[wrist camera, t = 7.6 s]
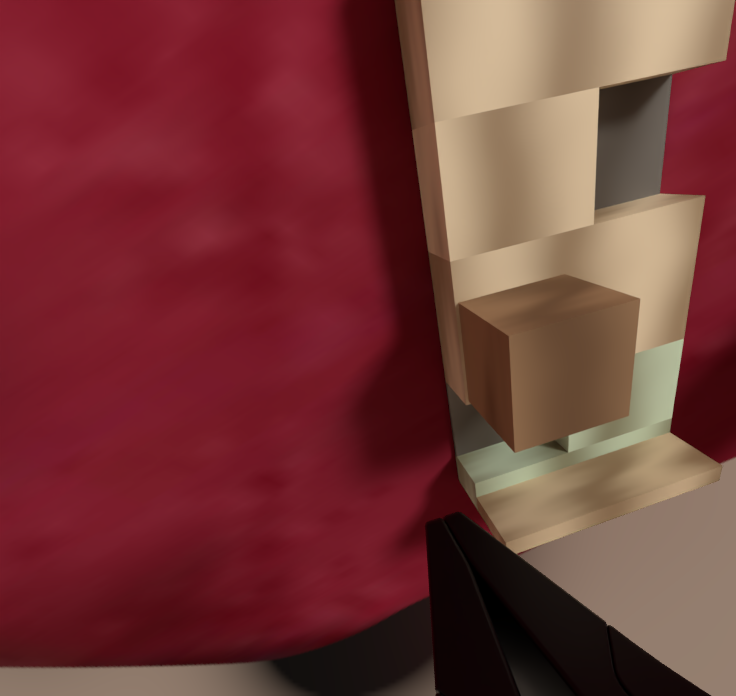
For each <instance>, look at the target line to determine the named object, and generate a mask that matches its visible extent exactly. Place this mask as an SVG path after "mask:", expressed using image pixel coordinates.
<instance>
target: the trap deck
mask: <svg viewBox="0 0 736 696" xmlns="http://www.w3.org/2000/svg"><path fill="white" fill-rule="evenodd" d="M734 3H735V0H395V7H396V15H397V22H398V29H399V37H400V44H401V52H402V59H403V67H404V74H405V82H406V89H407V97H408V104H409V112H410V119H411V127H412V134H413V142H414V149H415V156H416V164H417V171H418V179H419V186H420V194H421V201H422V209H423V216H424V224H425V231H426V239H427V246H428V254H429V261H430V268H431V276H432V283H433V291H434V298H435V306H436V313H437V321H438V328H439V336H440V343H441V351H442V358H443V366H444V373H445V380H446V388H447V395H448V403H449V410H450V418H451V425H452V433H453V440H454V448H455V455H456V463H457V470H458V478H459V481H460V483H461V484H462V486H463V488H464V489H465V491H466V492H467V494H468V496H469V497H470V499H471V500H472V502H473V504H474V505H475V507H476V508H477V510H478V512H479V513H480V515H481V516H482V518H483V520H484V521H485V523H486V524H487V526H488V528H489V529H490V531H491V532H492V534H493V536H494V537H495V538H496V539H497V540H498V541H500V542H501V543H502V544H504V545H505V546H506V547H508V548H509V549H510V550H512V551H513V552H514V553H516V554H517V553H520V552H522V551H525V550H528V549H531V548H534V547H536V546H539V545H542V544H545V543H547V542H550V541H553V540H556V539H558V538H561V537H564V536H566V535H569V534H572V533H575V532H578V531H581V530H583V529H586V528H589V527H592V526H594V525H597V524H600V523H603V522H605V521H608V520H611V519H614V518H617V517H619V516H622V515H625V514H628V513H630V512H633V511H636V510H639V509H642V508H644V507H647V506H650V505H652V504H656V503H658V502H661V501H664V500H666V499H669V498H672V497H675V496H678V495H681V494H683V493H686V492H689V491H692V490H694V489H697V488H700V487H703V486H705V485H708V484H711V483H714V482H716V481H719V479H720V474H721V470H722V465H720V464H719V463H717V462H716V461H714V460H712V459H711V458H709V457H708V456H706V455H705V454H703V453H701V452H700V451H698V450H697V449H695V448H694V447H692V446H690V445H689V444H687V443H686V442H684V441H683V440H681V439H679V438H678V437H676V436H675V435H673V434H672V433H670V427H671V420H672V414H673V407H674V400H675V394H676V387H677V380H678V374H679V367H680V361H681V354H682V347H683V341H684V334H685V327H686V321H687V314H688V307H689V301H690V294H691V288H692V281H693V274H694V268H695V261H696V254H697V248H698V241H699V235H700V228H701V221H702V215H703V208H704V201H705V196H704V195H678V194H660V186H661V176H662V167H663V157H664V148H665V138H666V129H667V119H668V110H669V100H670V91H671V81H672V74H674V73H678V72H682V71H686V70H690V69H693V68H697V67H701V66H705V65H709V64H713V63H717V62H720V61H724V60H726V56H727V49H728V42H729V36H730V29H731V22H732V16H733V9H734ZM563 274H566V275H569V276H572V277H576V278H579V279H582V280H585V281H588V282H591V283H594V284H597V285H600V286H603V287H606V288H609V289H613V290H616V291H619V292H622V293H625V294H628V295H631V296H634V297H637V298H640V309H639V319H638V329H637V339H636V349H635V359H634V369H633V380H632V390H631V400H630V410H629V416H627V417H624V418H621V419H618V420H615V421H612V422H609V423H606V424H603V425H600V426H596V427H593V428H590V429H587V430H584V431H581V432H578V433H575V434H572V435H569V436H566V437H563V438H560V439H556V440H553V441H550V442H547V443H544V444H541V445H538V446H535V447H532V448H529V449H526V450H523V451H520V452H516V453H514V452H513V451H512V449H511V448H510V447H509V446H508V445H507V444H506V443H505V442H504V440H503V439H502V438H501V437H500V436H499V435H498V434H497V433H496V431H495V430H494V429H493V428H492V427H491V426H490V425H489V424H488V422H487V421H486V420H485V419H484V418H483V417H482V416H481V415H480V413H479V412H478V411H477V410H476V409H475V408H474V407H473V406H472V404H471V403H470V402H469V400H468V390H467V381H466V371H465V362H464V352H463V343H462V333H461V324H460V314H459V305H458V303H459V302H463V301H467V300H470V299H474V298H478V297H481V296H485V295H489V294H492V293H496V292H500V291H504V290H507V289H511V288H515V287H518V286H522V285H526V284H529V283H533V282H537V281H541V280H544V279H548V278H552V277H555V276H559V275H563Z"/></svg>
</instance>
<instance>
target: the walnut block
mask: <svg viewBox="0 0 736 696" xmlns="http://www.w3.org/2000/svg"><path fill="white" fill-rule="evenodd" d="M458 305H459V314H460V324H461V333H462V343H463V352H464V362H465V371H466V381H467V390H468V400H469V402H470V403H471V404H472V406H473V407H474V408H475V409H476V410H477V411H478V412H479V413H480V415H481V416H482V417H483V418H484V419H485V420H486V421H487V422H488V424H489V425H490V426H491V427H492V428H493V429H494V430H495V431H496V433H497V434H498V435H499V436H500V437H501V438H502V439H503V440H504V442H505V443H506V444H507V445H508V446H509V447H510V448H511V449H512V451H513V452H514V453H516V452H520V451H523V450H526V449H529V448H532V447H535V446H538V445H541V444H544V443H547V442H550V441H553V440H556V439H560V438H563V437H566V436H569V435H572V434H575V433H578V432H581V431H584V430H587V429H590V428H593V427H596V426H600V425H603V424H606V423H609V422H612V421H615V420H618V419H621V418H624V417H627V416H629V410H630V400H631V390H632V380H633V369H634V359H635V349H636V339H637V329H638V319H639V309H640V298H637V297H634V296H631V295H628V294H625V293H622V292H619V291H616V290H613V289H609V288H606V287H603V286H600V285H597V284H594V283H591V282H588V281H585V280H582V279H579V278H576V277H572V276H569V275H566V274H563V275H559V276H555V277H552V278H548V279H544V280H541V281H537V282H533V283H529V284H526V285H522V286H518V287H515V288H511V289H507V290H504V291H500V292H496V293H492V294H489V295H485V296H481V297H478V298H474V299H470V300H467V301H463V302H459V303H458Z"/></svg>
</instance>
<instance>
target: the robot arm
mask: <svg viewBox="0 0 736 696" xmlns="http://www.w3.org/2000/svg"><path fill="white" fill-rule="evenodd" d="M425 529H426V545H427V562H428V578H429V594H430V610H431V627H432V641H433V642H432V643H433V659H434V674H435V690H436V696H711V695H709V694H708V693H706V692H705V691H703V690H701V689H700V688H698V687H697V686H695V685H694V684H692V683H691V682H689V681H688V680H686V679H685V678H683V677H682V676H680V675H679V674H677V673H676V672H674V671H673V670H671V669H670V668H668V667H667V666H665V665H664V664H662V663H661V662H659V661H658V660H657V659H655V658H654V657H653V656H651V655H650V654H649V653H647V652H646V651H644V650H643V649H642V648H640V647H639V646H637V645H636V644H635V643H633V642H632V641H630V640H629V639H628V638H627V637H625V636H624V635H623V634H621V633H620V632H618V631H617V630H616V629H615V628H614V627H612V626H611V625H608V626H607V624H606V622H605V621H604V620H603V619H601V618H600V617H599V616H597V615H596V614H595V613H593V612H592V611H591V610H590V609H588V608H587V607H586V606H584V605H583V604H582V603H580V602H579V601H578V600H576V599H575V598H573V597H572V596H571V595H570V594H568V593H567V592H566V591H564V590H563V589H562V588H560V587H559V586H558V585H556V584H555V583H554V582H553V581H551V580H550V579H549V578H547V577H546V576H545V575H543V574H542V573H541V572H539V571H538V570H537V569H535V568H534V567H533V566H531V565H530V564H529V563H527V562H526V561H525V560H524V559H522V558H521V557H520V556H518V555H517V554H516V553H514V552H513V551H512V550H510V549H509V548H508V547H506V546H505V545H504V544H502V543H501V542H500V541H498V540H497V539H496V538H494V537H493V536H492V535H490V534H489V533H488V532H487V531H485V530H484V529H483V528H481V527H480V526H479V525H477V524H476V523H475V522H473V521H472V520H471V519H469V518H468V517H467V516H465V515H464V514H463V513H461V512H455V513H452V514H449V515H446V516H444V518H443V519H442V518H438V519H435V520H432V521H429V522H427V523H426V525H425Z"/></svg>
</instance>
